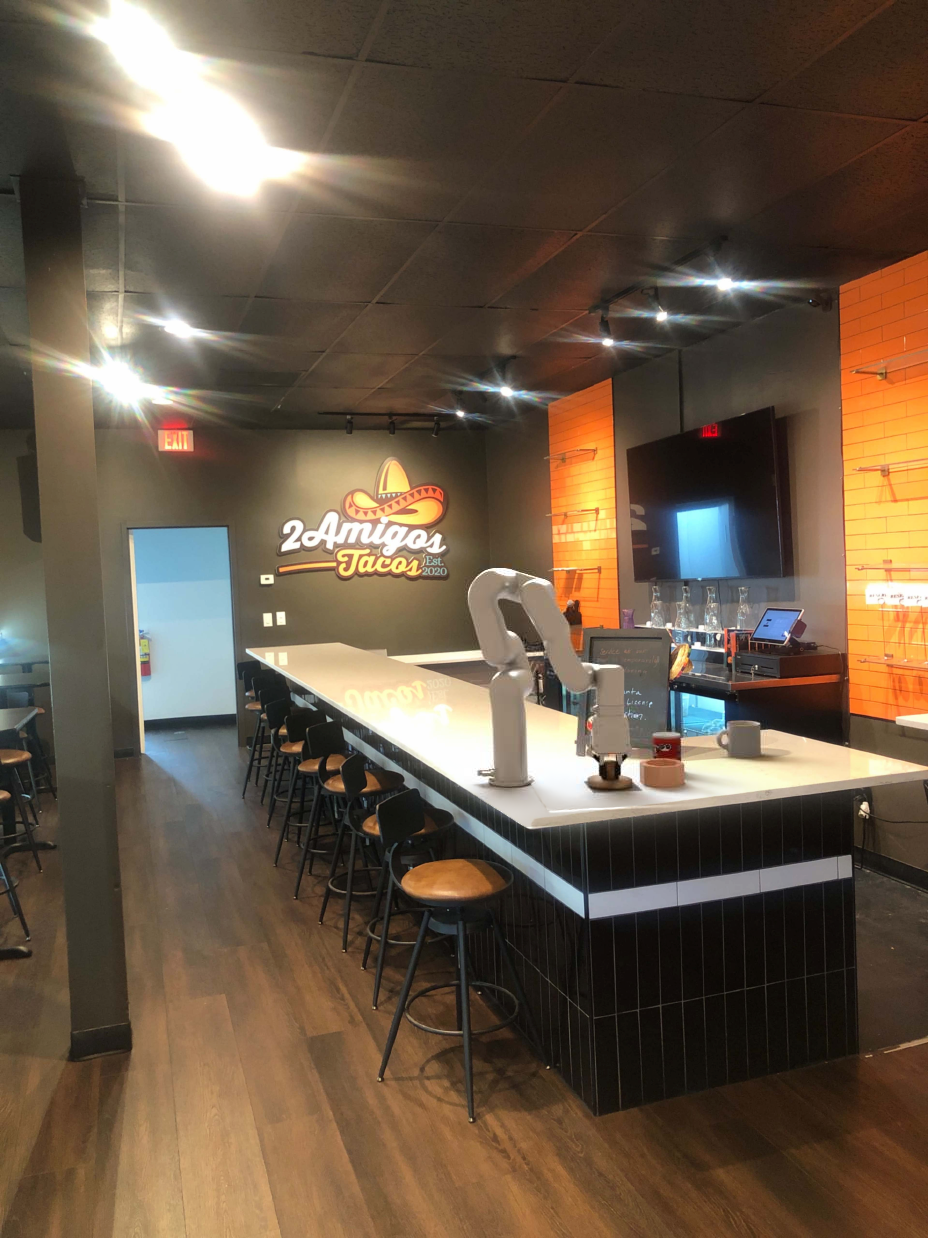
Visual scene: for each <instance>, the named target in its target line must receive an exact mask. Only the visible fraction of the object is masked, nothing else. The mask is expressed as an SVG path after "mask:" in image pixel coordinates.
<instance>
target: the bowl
mask: <svg viewBox="0 0 928 1238" xmlns="http://www.w3.org/2000/svg"><path fill="white" fill-rule="evenodd" d="M685 774H686V773H685V763H684V762H682V760H681V761H679V760H673V759H665V758H661V759H653V758H647V759H644V760H641V761H639V782H640V783H641V784H642V785H643V786H646V787H647V786H648V787H652V788H677V787H679V786H682V785H684V784H685V783H686V782H685V779H686V777H685V776H686V775H685Z"/></svg>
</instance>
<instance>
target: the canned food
mask: <svg viewBox="0 0 928 1238" xmlns="http://www.w3.org/2000/svg"><path fill="white" fill-rule="evenodd" d="M661 758H665V759H673V760H679V761H681V762H682V735H681V733H679V732H674V731H659V732H654V733H653V734H652V759H661Z"/></svg>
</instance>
